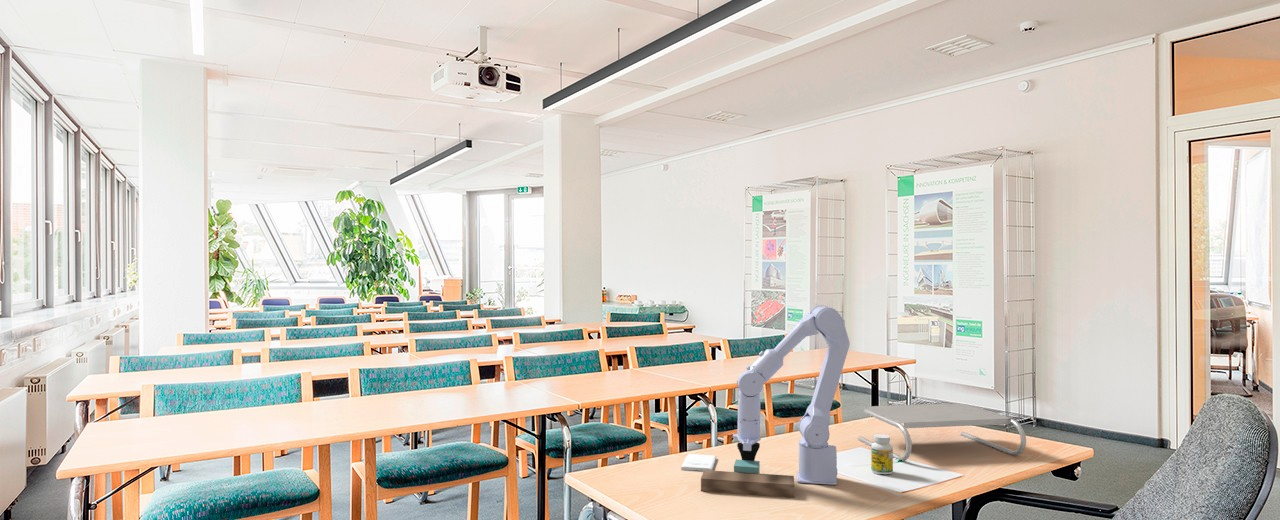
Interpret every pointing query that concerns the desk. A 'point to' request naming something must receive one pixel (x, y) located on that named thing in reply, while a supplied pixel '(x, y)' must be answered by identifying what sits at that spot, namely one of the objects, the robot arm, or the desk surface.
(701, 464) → the external hard drive
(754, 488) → the walnut board
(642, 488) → the desk surface
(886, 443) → the supplement bottle
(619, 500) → the desk surface
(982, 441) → the monitor stand
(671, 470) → the desk surface
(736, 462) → the teal block
